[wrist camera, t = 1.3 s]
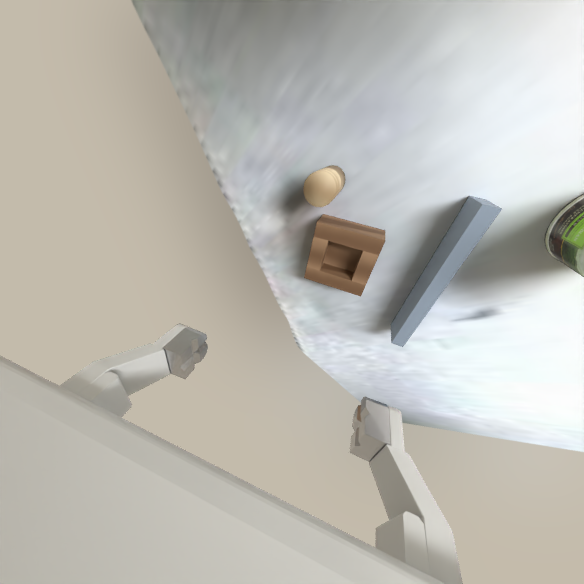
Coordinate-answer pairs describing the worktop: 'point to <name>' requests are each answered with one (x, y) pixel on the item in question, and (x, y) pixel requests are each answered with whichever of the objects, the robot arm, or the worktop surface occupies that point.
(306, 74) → the worktop surface
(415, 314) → the wall
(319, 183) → the dowel
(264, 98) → the worktop surface
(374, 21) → the worktop surface
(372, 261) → the block
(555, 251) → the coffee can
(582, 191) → the worktop surface
